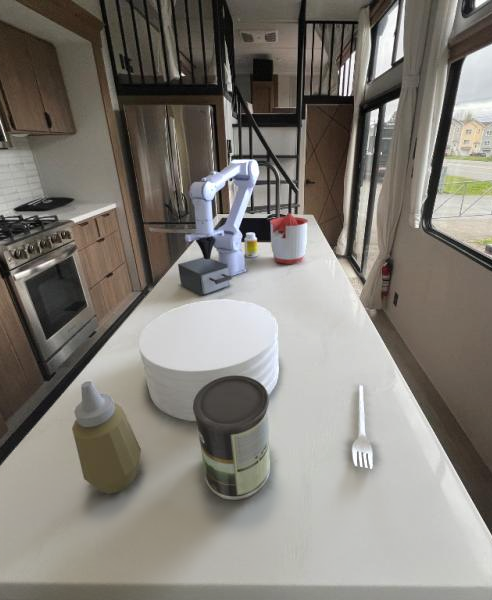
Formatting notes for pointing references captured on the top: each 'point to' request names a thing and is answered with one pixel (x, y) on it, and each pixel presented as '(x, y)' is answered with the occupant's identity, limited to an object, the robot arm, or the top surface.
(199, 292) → the small drawer box
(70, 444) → the top surface
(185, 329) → the plate stack
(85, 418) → the squeeze bottle
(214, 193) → the robot arm
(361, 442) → the fork
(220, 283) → the grey drawer
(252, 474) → the coffee can
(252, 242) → the supplement bottle
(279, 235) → the citrus juicer
